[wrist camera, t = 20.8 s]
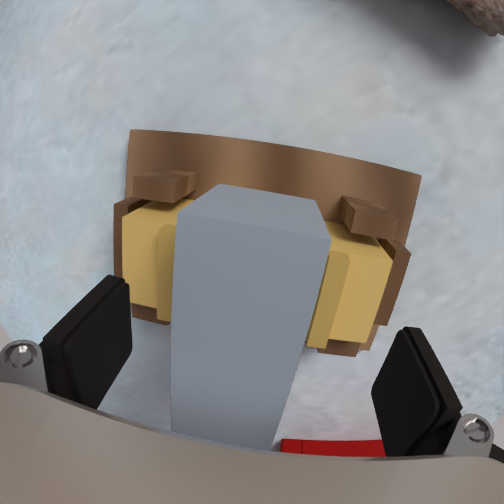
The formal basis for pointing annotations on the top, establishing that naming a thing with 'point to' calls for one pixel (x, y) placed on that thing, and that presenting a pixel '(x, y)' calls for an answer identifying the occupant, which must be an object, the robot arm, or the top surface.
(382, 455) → the fire alarm
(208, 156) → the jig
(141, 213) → the tan toy brick
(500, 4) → the stone slab
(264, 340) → the grey rectangular block
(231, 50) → the top surface
